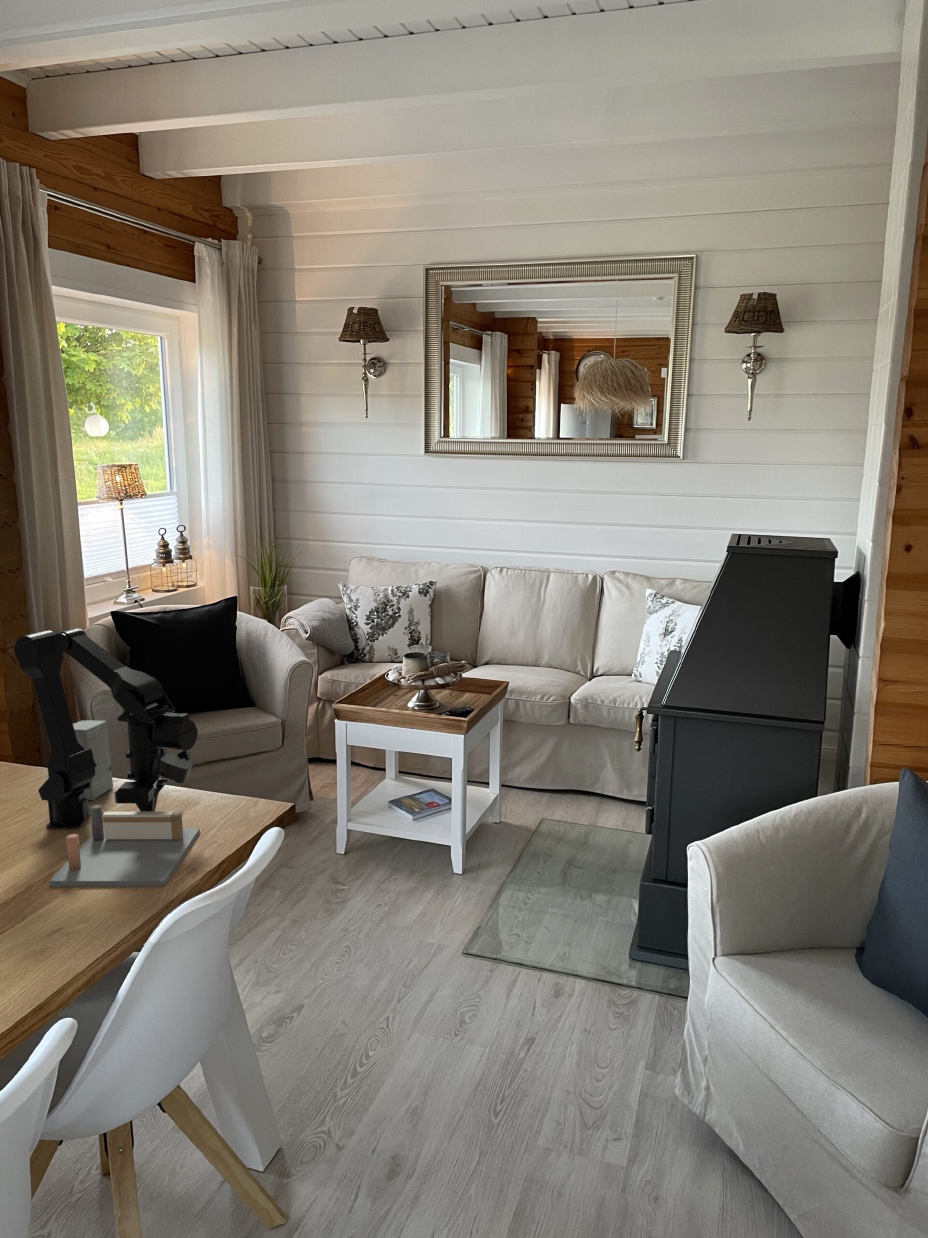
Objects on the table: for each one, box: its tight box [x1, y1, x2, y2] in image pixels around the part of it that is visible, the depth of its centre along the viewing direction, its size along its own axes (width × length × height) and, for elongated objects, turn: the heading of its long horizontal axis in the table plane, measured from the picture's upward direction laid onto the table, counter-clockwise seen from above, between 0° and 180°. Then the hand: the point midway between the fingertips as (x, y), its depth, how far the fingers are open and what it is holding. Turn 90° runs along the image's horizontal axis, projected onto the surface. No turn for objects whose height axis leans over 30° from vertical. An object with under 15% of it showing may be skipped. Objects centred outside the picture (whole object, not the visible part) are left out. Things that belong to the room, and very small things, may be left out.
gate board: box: [49, 804, 201, 887], centre depth 168 cm, size 20×22×8 cm
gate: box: [102, 810, 184, 839], centre depth 174 cm, size 14×2×5 cm, turn 90°
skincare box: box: [73, 719, 114, 801], centre depth 198 cm, size 8×7×16 cm
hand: (150, 820), depth 177 cm, fingers closed
